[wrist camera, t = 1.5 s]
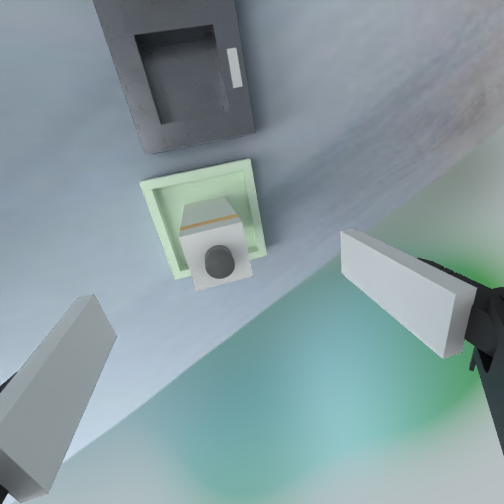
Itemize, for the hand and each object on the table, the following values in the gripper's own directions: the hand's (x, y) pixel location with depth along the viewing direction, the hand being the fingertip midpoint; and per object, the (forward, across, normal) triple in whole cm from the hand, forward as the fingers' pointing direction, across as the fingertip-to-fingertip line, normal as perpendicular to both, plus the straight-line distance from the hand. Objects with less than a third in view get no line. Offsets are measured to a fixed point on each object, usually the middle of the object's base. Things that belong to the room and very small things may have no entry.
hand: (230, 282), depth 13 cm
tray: (+14, 0, 0) cm, 14 cm away
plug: (+13, 0, 0) cm, 13 cm away
